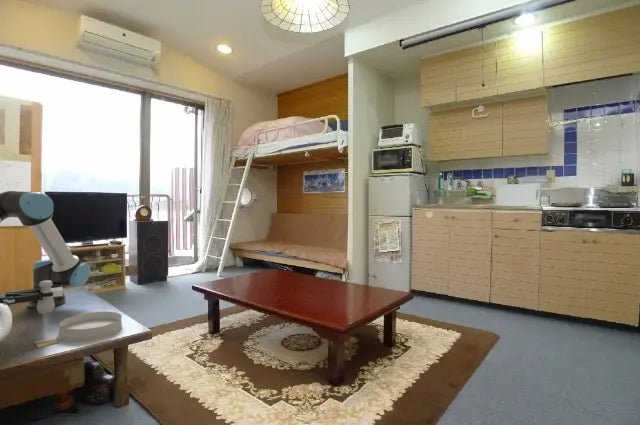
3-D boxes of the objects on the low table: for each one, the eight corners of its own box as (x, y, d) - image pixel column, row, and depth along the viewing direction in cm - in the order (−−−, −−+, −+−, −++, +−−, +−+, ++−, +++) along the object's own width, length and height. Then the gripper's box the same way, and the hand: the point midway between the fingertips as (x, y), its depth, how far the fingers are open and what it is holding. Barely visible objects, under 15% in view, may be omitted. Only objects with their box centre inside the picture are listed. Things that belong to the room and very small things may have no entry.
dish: (90, 320, 156) (90, 309, 155) (133, 324, 152) (133, 313, 152) (43, 338, 134) (44, 326, 133) (93, 344, 130) (93, 332, 130)
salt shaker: (51, 308, 144) (51, 278, 143) (57, 311, 141) (57, 280, 140) (34, 312, 139) (34, 281, 138) (39, 315, 136) (40, 283, 135)
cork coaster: (34, 343, 129) (34, 341, 129) (54, 338, 134) (54, 337, 133) (38, 347, 125) (38, 346, 125) (58, 343, 130) (58, 341, 130)
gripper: (-14, 304, 134) (61, 295, 149) (-18, 316, 122) (63, 305, 137) (-14, 286, 134) (61, 278, 149) (-18, 295, 122) (64, 286, 137)
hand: (62, 291), depth 143 cm, fingers closed on salt shaker, 3 cm apart
